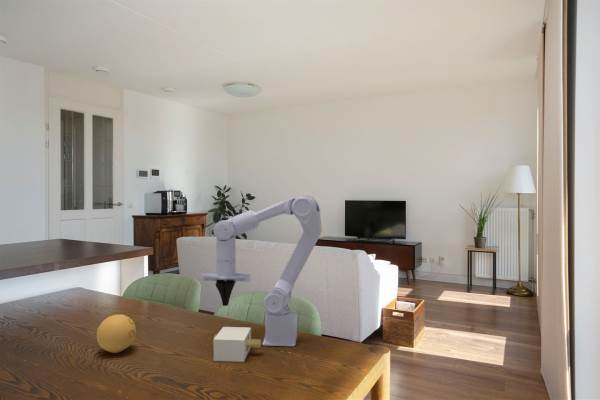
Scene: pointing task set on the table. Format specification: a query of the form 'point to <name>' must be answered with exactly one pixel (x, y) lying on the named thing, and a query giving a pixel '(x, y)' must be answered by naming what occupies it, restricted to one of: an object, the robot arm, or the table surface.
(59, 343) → the table surface
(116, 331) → the stress ball
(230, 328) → the block
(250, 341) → the pin
